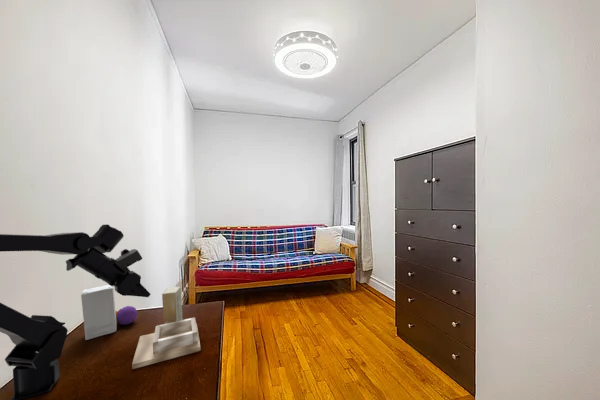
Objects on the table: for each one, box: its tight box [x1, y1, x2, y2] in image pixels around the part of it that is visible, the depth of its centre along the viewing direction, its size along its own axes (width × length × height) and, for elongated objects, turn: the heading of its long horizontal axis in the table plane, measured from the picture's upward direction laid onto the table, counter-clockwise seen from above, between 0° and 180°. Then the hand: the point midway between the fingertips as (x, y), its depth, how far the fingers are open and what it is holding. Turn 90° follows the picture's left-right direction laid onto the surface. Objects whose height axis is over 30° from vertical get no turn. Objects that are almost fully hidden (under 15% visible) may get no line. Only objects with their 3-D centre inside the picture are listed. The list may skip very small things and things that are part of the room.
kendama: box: [116, 305, 138, 326], centre depth 95 cm, size 6×6×20 cm
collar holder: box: [131, 317, 202, 370], centre depth 76 cm, size 16×16×4 cm
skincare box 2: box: [161, 286, 183, 324], centre depth 88 cm, size 6×4×12 cm
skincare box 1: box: [80, 284, 118, 341], centre depth 86 cm, size 8×6×15 cm
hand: (145, 292), depth 82 cm, fingers open, 9 cm apart
